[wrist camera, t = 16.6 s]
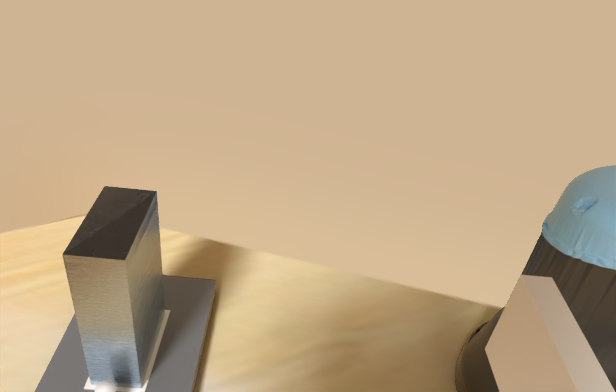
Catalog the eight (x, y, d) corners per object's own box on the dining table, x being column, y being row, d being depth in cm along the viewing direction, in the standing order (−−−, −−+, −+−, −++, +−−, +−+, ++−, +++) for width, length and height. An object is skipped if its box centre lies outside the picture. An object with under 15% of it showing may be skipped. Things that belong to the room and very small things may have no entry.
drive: (165, 313, 47) (156, 191, 39) (141, 388, 41) (125, 260, 33) (122, 309, 47) (104, 186, 39) (91, 384, 40) (62, 254, 32)
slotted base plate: (215, 290, 52) (216, 261, 50) (177, 463, 38) (175, 434, 35) (99, 279, 52) (94, 250, 50) (13, 452, 37) (1, 422, 35)
